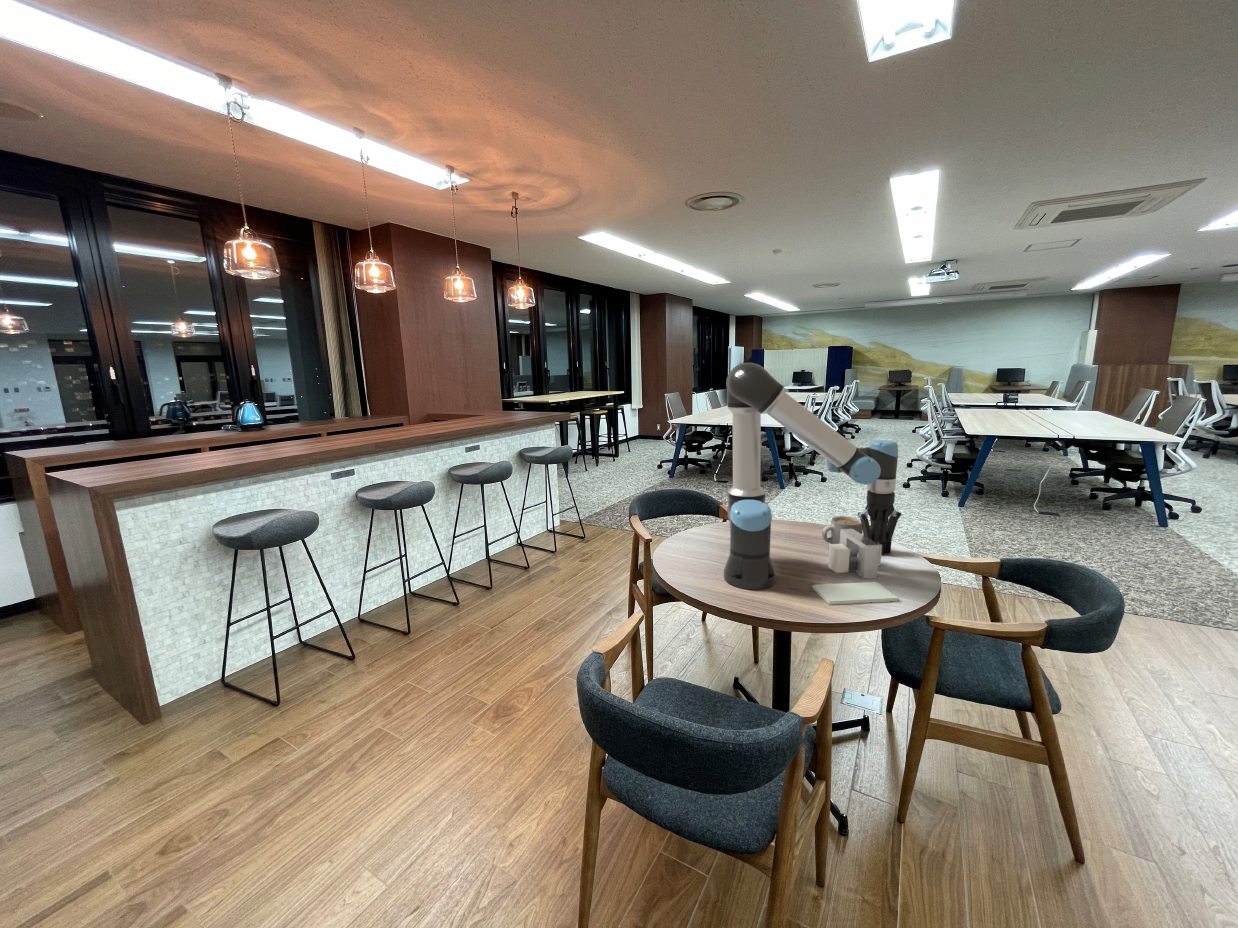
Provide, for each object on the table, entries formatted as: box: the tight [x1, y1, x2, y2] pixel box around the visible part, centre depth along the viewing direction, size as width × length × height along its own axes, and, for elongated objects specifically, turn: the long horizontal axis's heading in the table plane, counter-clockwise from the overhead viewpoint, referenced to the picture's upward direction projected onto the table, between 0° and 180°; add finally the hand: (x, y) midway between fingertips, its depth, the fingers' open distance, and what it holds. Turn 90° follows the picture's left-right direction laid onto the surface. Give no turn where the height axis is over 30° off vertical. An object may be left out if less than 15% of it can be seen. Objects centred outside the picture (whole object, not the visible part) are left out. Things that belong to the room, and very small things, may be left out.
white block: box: [827, 543, 858, 574], centre depth 148 cm, size 14×5×8 cm, turn 93°
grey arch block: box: [840, 529, 880, 580], centre depth 148 cm, size 4×15×10 cm, turn 3°
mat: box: [811, 581, 899, 605], centre depth 132 cm, size 19×10×1 cm, turn 93°
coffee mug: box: [821, 515, 863, 548], centre depth 166 cm, size 13×10×10 cm
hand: (876, 562), depth 149 cm, fingers closed
